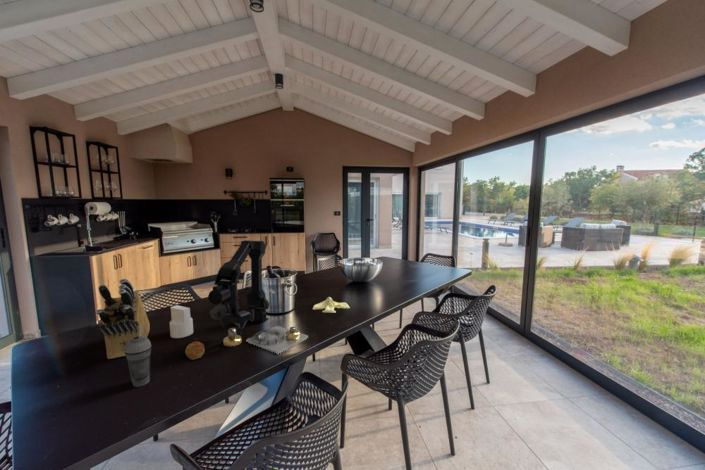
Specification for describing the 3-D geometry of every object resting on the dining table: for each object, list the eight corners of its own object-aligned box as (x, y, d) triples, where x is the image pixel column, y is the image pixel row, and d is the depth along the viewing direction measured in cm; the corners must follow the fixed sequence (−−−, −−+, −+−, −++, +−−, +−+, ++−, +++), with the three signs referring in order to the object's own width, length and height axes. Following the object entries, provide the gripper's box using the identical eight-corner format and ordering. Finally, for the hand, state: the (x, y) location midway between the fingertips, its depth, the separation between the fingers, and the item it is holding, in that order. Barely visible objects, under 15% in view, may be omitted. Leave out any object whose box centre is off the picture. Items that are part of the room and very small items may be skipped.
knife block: (98, 373, 107) (89, 286, 103) (120, 334, 138) (114, 266, 135) (138, 365, 112) (130, 281, 108) (150, 329, 143) (145, 263, 140)
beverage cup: (136, 376, 105) (131, 319, 102) (159, 375, 105) (154, 319, 103) (122, 390, 97) (116, 329, 95) (146, 388, 98) (141, 328, 96)
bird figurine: (355, 306, 174) (354, 295, 173) (333, 316, 159) (333, 305, 158) (325, 299, 187) (325, 289, 186) (302, 307, 172) (302, 297, 171)
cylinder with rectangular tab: (197, 331, 141) (196, 305, 139) (179, 339, 133) (177, 312, 131) (184, 328, 145) (182, 303, 143) (165, 335, 136) (163, 309, 135)
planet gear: (220, 344, 128) (219, 330, 128) (234, 337, 134) (234, 324, 133) (230, 348, 124) (229, 334, 124) (245, 342, 130) (244, 328, 130)
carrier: (246, 342, 130) (246, 330, 129) (277, 328, 144) (277, 317, 143) (278, 354, 119) (277, 341, 118) (308, 338, 133) (307, 326, 132)
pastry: (206, 357, 118) (206, 348, 117) (186, 363, 114) (186, 353, 114) (203, 347, 125) (202, 338, 125) (184, 352, 122) (183, 343, 121)
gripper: (198, 297, 126) (201, 334, 128) (226, 306, 115) (228, 346, 117) (223, 290, 135) (225, 325, 137) (251, 298, 124) (252, 335, 126)
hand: (232, 332), depth 129 cm, fingers open, 9 cm apart
